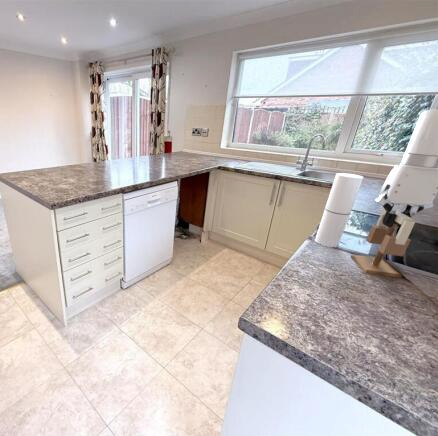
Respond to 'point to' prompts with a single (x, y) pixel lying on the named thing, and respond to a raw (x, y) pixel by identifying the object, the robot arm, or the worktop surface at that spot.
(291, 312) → the worktop surface
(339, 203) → the cylindrical container
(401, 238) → the wooden bracket
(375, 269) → the stand
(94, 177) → the worktop surface
